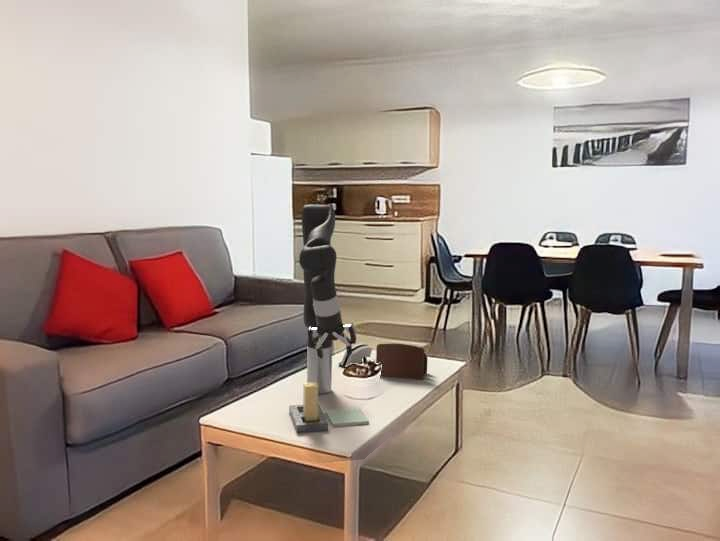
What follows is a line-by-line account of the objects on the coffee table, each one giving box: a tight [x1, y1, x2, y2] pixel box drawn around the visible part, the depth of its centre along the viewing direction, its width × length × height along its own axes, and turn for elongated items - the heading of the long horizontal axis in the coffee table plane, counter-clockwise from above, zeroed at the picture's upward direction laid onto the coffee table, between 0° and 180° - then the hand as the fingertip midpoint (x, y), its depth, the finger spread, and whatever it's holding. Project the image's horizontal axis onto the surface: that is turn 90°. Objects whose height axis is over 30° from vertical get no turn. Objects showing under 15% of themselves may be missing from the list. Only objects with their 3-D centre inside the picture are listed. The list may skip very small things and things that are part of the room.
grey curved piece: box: [337, 342, 373, 367], centre depth 270 cm, size 17×5×10 cm, turn 143°
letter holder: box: [375, 343, 428, 381], centre depth 255 cm, size 10×20×14 cm, turn 75°
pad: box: [325, 407, 370, 428], centre depth 206 cm, size 12×12×1 cm
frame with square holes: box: [288, 403, 329, 434], centre depth 203 cm, size 18×10×2 cm, turn 14°
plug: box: [302, 382, 319, 423], centre depth 198 cm, size 4×4×14 cm
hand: (335, 356), depth 190 cm, fingers open, 8 cm apart
